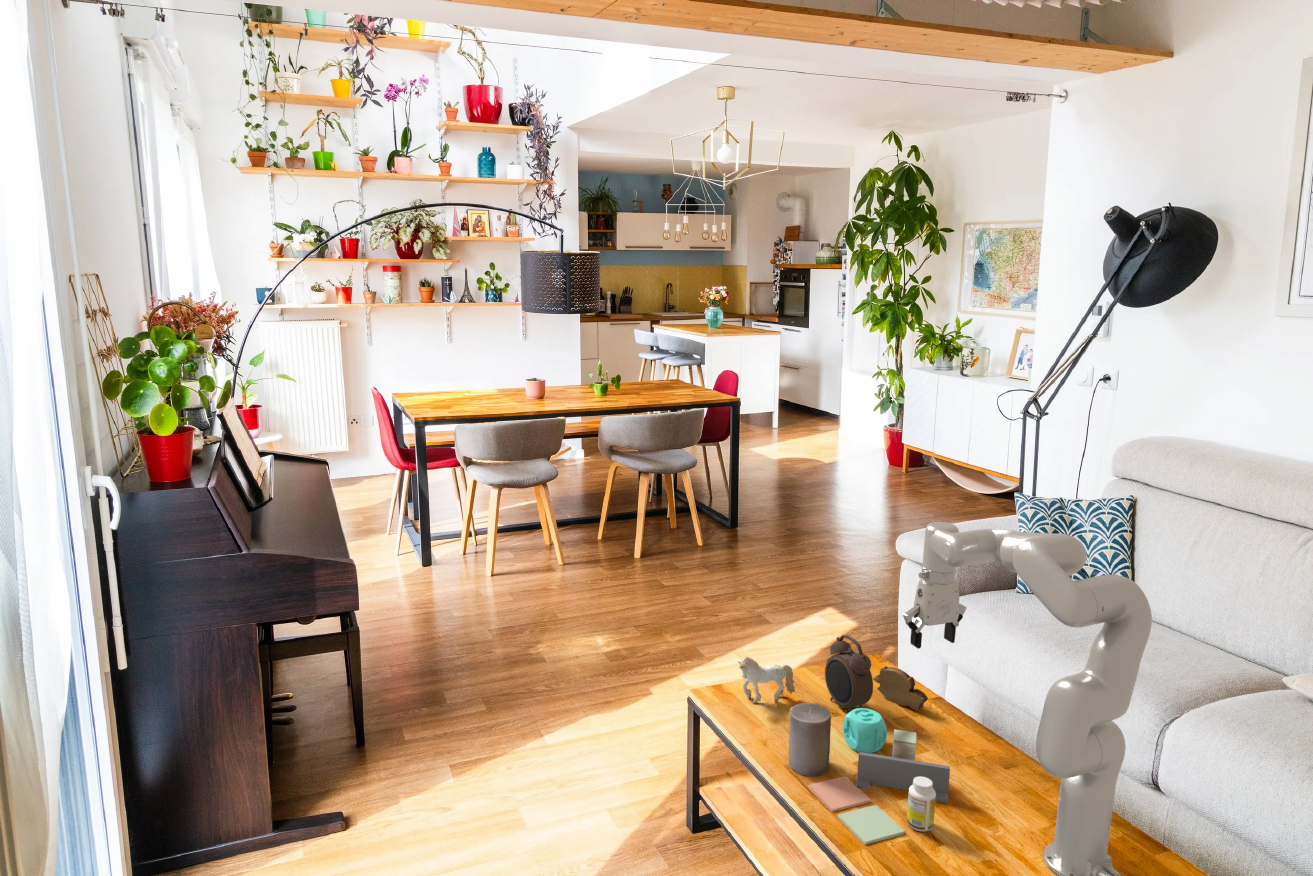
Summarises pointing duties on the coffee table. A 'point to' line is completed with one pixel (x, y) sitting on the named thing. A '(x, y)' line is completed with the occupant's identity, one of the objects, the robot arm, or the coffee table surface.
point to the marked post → (904, 745)
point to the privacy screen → (900, 773)
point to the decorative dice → (864, 730)
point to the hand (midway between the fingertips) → (932, 643)
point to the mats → (862, 822)
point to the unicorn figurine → (765, 677)
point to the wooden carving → (900, 688)
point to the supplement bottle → (921, 804)
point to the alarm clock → (848, 674)
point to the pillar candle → (809, 739)
